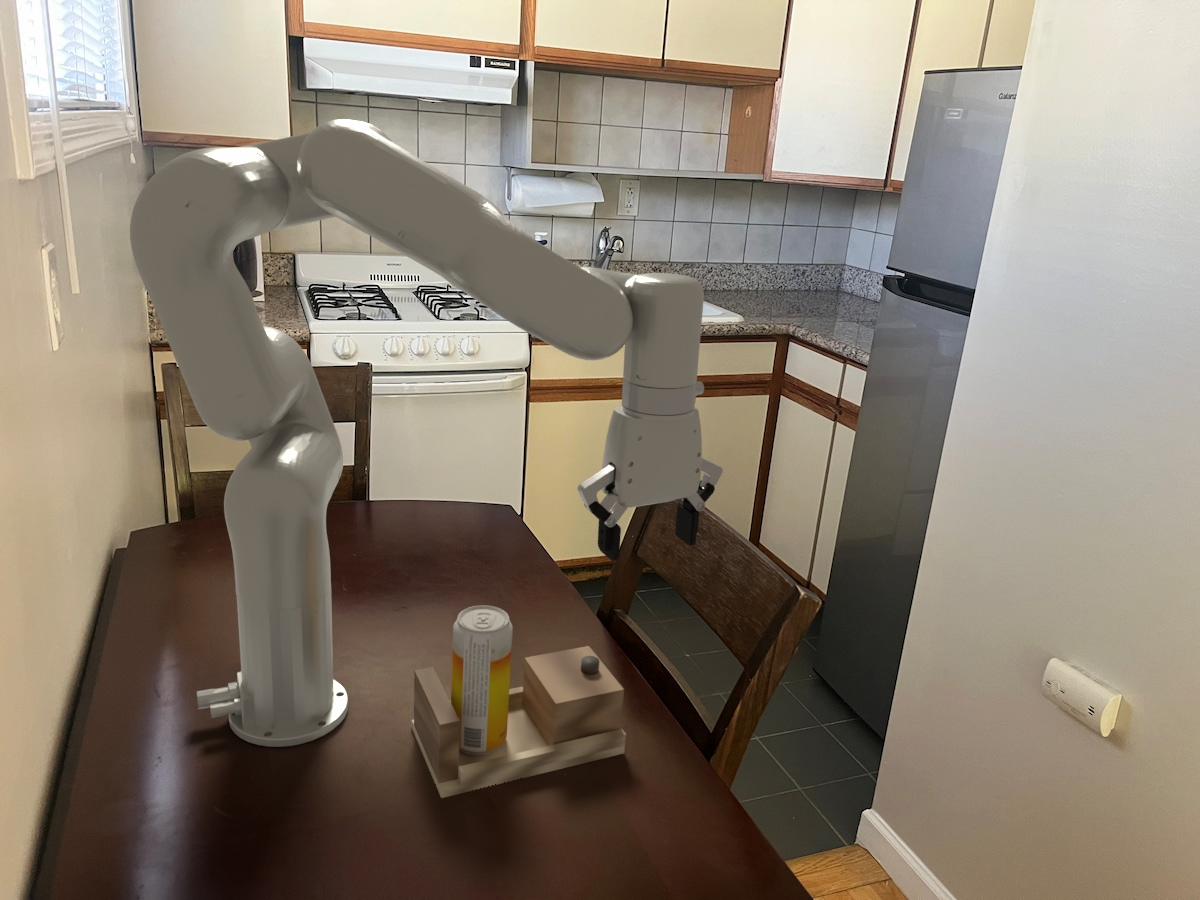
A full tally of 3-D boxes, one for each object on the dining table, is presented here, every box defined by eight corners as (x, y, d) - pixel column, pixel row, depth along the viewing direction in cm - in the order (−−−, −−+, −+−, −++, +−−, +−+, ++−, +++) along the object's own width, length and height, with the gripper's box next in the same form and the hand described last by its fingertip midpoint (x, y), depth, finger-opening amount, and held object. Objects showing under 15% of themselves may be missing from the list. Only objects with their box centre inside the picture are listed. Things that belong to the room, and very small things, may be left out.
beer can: (508, 724, 99) (514, 604, 95) (504, 759, 94) (511, 634, 89) (453, 721, 99) (456, 601, 94) (446, 757, 93) (450, 631, 88)
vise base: (441, 798, 89) (442, 730, 86) (411, 727, 99) (412, 665, 97) (624, 753, 98) (630, 690, 95) (579, 692, 108) (584, 634, 105)
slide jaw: (552, 751, 95) (556, 693, 93) (522, 702, 103) (525, 648, 101) (619, 735, 98) (625, 679, 96) (585, 689, 106) (589, 636, 104)
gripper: (707, 380, 99) (694, 522, 104) (566, 394, 91) (561, 547, 96) (748, 398, 92) (732, 548, 98) (601, 415, 84) (593, 577, 90)
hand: (647, 548), depth 97 cm, fingers open, 9 cm apart
